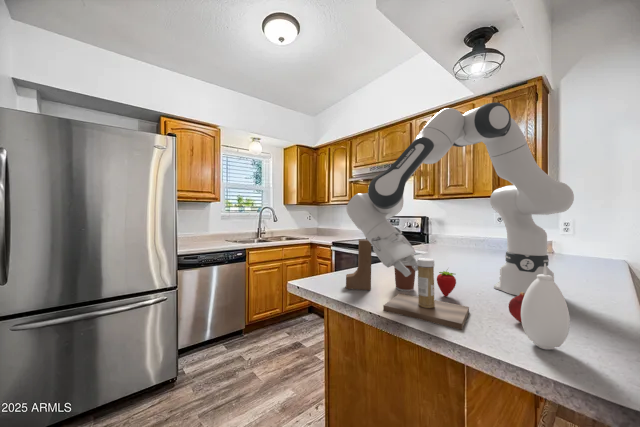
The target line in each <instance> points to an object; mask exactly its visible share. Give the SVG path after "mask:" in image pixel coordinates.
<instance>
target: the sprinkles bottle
mask: <svg viewBox="0 0 640 427" xmlns="http://www.w3.org/2000/svg"><path fill="white" fill-rule="evenodd" d="M416 261H417V265H418V270H417V293H418V296H417V297H418V299H419V302H418V305H419V306H421V307H424V308H433V307H435V304H434V300H435V278H434V277H435V274H434V272H435V271H434V268H435V260H434V258H427V257H420V258H417V259H416Z"/></svg>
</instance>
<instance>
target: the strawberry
mask: <svg viewBox="0 0 640 427" xmlns="http://www.w3.org/2000/svg"><path fill="white" fill-rule="evenodd" d="M448 269H449V268H447V269H446V271H444V270H443V271H438V273H439V274H438V275H437V276H436V283H437V286H438V289H439V290H440V292H441V293H442V295H443V296H444V297H445V298H446V297H448V296H449V295H450V294H451V293H452V292H453V291H454V289H455V288H456V285H457V279H456V277H455V276H454V275H455V273H453V272H449V271H448Z"/></svg>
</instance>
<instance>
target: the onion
mask: <svg viewBox="0 0 640 427" xmlns="http://www.w3.org/2000/svg"><path fill="white" fill-rule="evenodd" d="M524 295H525V293H523V292H521V293H520V295H519V296H517V295H515V296H514V297H513V298H511V299H510V300H509V302H508V311H509V313H510V315H511V317H513V318H514V319H515V320H516V321H518V322H519V323H520V324H522V321H521V306H522V301H523V298H524Z"/></svg>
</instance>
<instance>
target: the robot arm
mask: <svg viewBox="0 0 640 427" xmlns="http://www.w3.org/2000/svg"><path fill="white" fill-rule="evenodd" d="M481 142H482V143H483V144H484V145H485V147H486V150H487V153H488V156H489V158H490V159H489V160H490V161H491V164H492V166H493V168H494V171H495V172H496V175H497V176H498V177H499V178H500V179H503V180H506V181H508V182H509V183H511V184H510V185H505V186H502V187H499V188H496V189H495V190H493V192H492V193H491V195H490V198H489V199H490V200H489V203H490V205H491V208H492V209H493V210H494V211H495V212H497V213H498V215H499V216H500V217H501V219H502V222H503V223H504V226H505V229H506V241H507V242H506V244H507V245H506V247H507V250H506V251H505V255H504V257H505V263H504V264H503V265H502V266H501V267H500V269H499V275H500V276H499V282H497V283H496V284H494V285H493V289H495V290H500V291H502V292H505V293H507V294H510V295H513V296H519V295H520V293H521V292H523V293H526V291H527V289H528V288H529V286H530V285H531V284H532V282H533V281H534V280H536V279H537V275H538V274H543V273H544V264H545V263H546V274H547V275H550V276H552V277H553V281H554V282H555V273H554V272H553V271H552V270H551V269H550V268H549V267H548V266H549V262H550V260H549V255H548V234H547V232H546V230H545V229H544V228H542V227H541V226H539V225H537V224H536V222H535V221H534V219H533V216H532V215H537V216H538V215H541V216H542V215H543V216H544V215H546V216H548V215H553V214H554V215H555V214H559V213H560V214H561V213H565V212H566V211H568V210H569V209H570V208H571V207H572V205H573V204H574V200H575V195H574V191H573V189H572V188H571V187H570V186H569V185H568V184H567V183H564V182H562V181H559V180H557V179H555V178H554V177H552V176H550V175H549V174H547V173H546V172H545V171H544V170H543V169H542V168H541V167H540V166H539V165H538V163H537V161H536V160H535V158H534V156H533V153H532V151H531V149H530V147H529V144H528V142H527V139H526V137H525V135H524V133H523V130H522V129H521V128H520V126H519V124H518V123H517V121H516V120H515V119H514V118H512V116H511V112H510V111H509V109H508V108H507V106H506V105H504V104H503V103H501V102H489V103H484V104H483V105H481V106H479V107H476V108H472V109H469V110H468V111H466V112H465V113H462V112H461V111H459V110H458V109H456V108H453V107H447V108H443V109H441V110H440V111H439V112H437V113H436V114H435V115H434V116H433V117H432V118H431V119H430V120H429V121H428V122H427V123H426V124H425V125H424V127H423V128H422V129H421V130H420V131H419V133H418V134H417V135H416V137H415V138H414V139H413V141H412V142H411V143H410V145H408V147H407V148H405V150H404V151H403V152H402V153H401V154H400V155H399V157H398V158H397V159H396V160H395V161H394V162H393V163H392V164H391V165H390V167H388V168H387V169H386V170H384V171H383V172H381V173H379V174H378V175H376V176H375V177H373V178H372V180H371V181H370V183H369V185H368V189H367V192H366V193H356V194H354V195H353V196H352V197H351V198H350V199H349V200H348V202H347V205H346V212H347V215H348V217H349V219H351V220H350V221H352V223H353V224H354V225H355V227H356V228H357V229H358V230H360V231H361V232H362V233H363V235H364V237H365V239H367V240H368V241H369V242H370V243H371V244H372V251H373V252H374V253H375V255H376V256H377V258H378V259H379V261H380V262H381V263H382V265H384V266H385V267H386V268H390V267H392V266H393V267H395V268H396V269H397V270H399V271H400V272H402V273H403V275H404V276H405V277H408V276H409V275H410V274H411V271H410V270H409V269H408V268H406V267H405V266H404V265H403V264H402V261H404V260H407V261H408V262H410V264H411V265H412V268H413V269H414V270H415V272H418V265H417V259H416V257H415V256H414V255H415V254H416V250H415V248H414V247H413V245H412V244H411V243H410V241H409V240H408V239H407V238H406V237H405V236H404V235H403V232H402V230H401V229H400V228H398V227H396V226H394V225H393V224H391V222H390V221H389V219H391V218H393V217H395V216H396V215H398V214H399V213H401V211H402V209H403V207H404V192H405V187H406V183H407V182H408V181H409V180H410V178H411V177H412V176H413V175H414V173H416V171H417V170H418V169H419V167H421V165H422V164H426V165H433V164H436V163H438V162H439V161H440V160H441V159H442V158H444V156H446V154H447V153H448V152H449V151H450V149H451V148H452V147H458V148H463V147H466V146H472V145H476V144H480V143H481Z"/></svg>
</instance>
